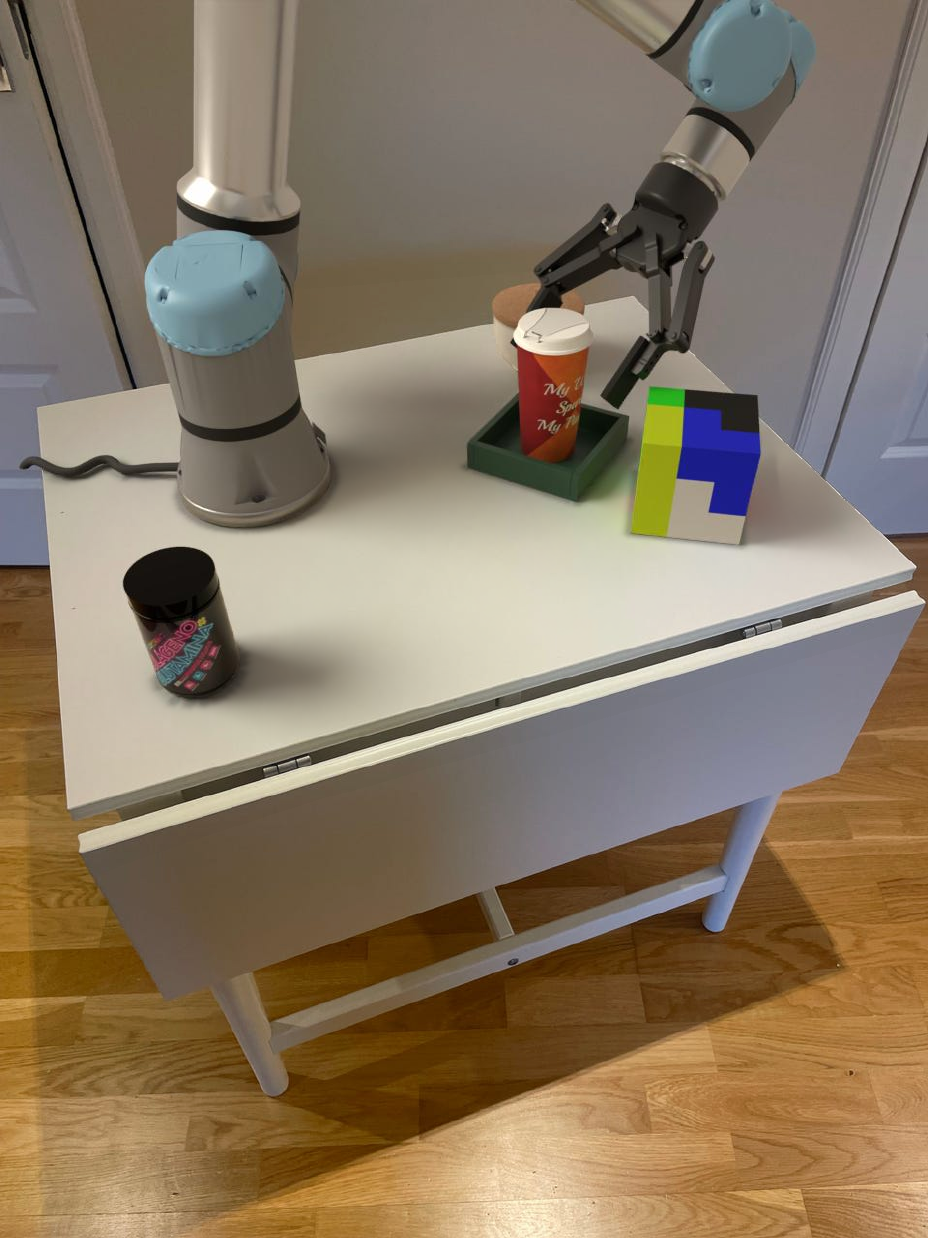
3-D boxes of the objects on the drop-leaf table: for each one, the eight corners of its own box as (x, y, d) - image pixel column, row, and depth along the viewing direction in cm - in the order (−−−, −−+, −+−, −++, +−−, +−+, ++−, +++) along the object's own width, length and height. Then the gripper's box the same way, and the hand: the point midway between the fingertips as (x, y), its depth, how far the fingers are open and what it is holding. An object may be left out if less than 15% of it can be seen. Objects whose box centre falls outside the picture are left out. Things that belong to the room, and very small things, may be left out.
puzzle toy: (738, 544, 85) (760, 453, 78) (630, 533, 86) (642, 443, 79) (737, 483, 92) (757, 395, 85) (637, 473, 93) (649, 386, 87)
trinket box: (475, 370, 110) (474, 294, 103) (522, 335, 116) (524, 262, 109) (551, 394, 105) (555, 317, 99) (596, 356, 111) (602, 282, 105)
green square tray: (467, 467, 95) (466, 442, 93) (522, 411, 103) (523, 387, 100) (577, 502, 90) (579, 476, 88) (626, 440, 98) (629, 415, 96)
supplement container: (140, 678, 74) (103, 582, 67) (203, 630, 78) (174, 535, 71) (196, 715, 71) (163, 618, 64) (259, 664, 75) (234, 567, 68)
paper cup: (555, 477, 92) (562, 349, 82) (496, 451, 96) (497, 325, 86) (599, 444, 96) (611, 319, 87) (541, 420, 100) (546, 297, 90)
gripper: (807, 243, 82) (668, 442, 86) (615, 172, 97) (504, 345, 101) (781, 195, 76) (633, 411, 80) (581, 128, 91) (465, 314, 95)
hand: (561, 375), depth 91 cm, fingers open, 13 cm apart
